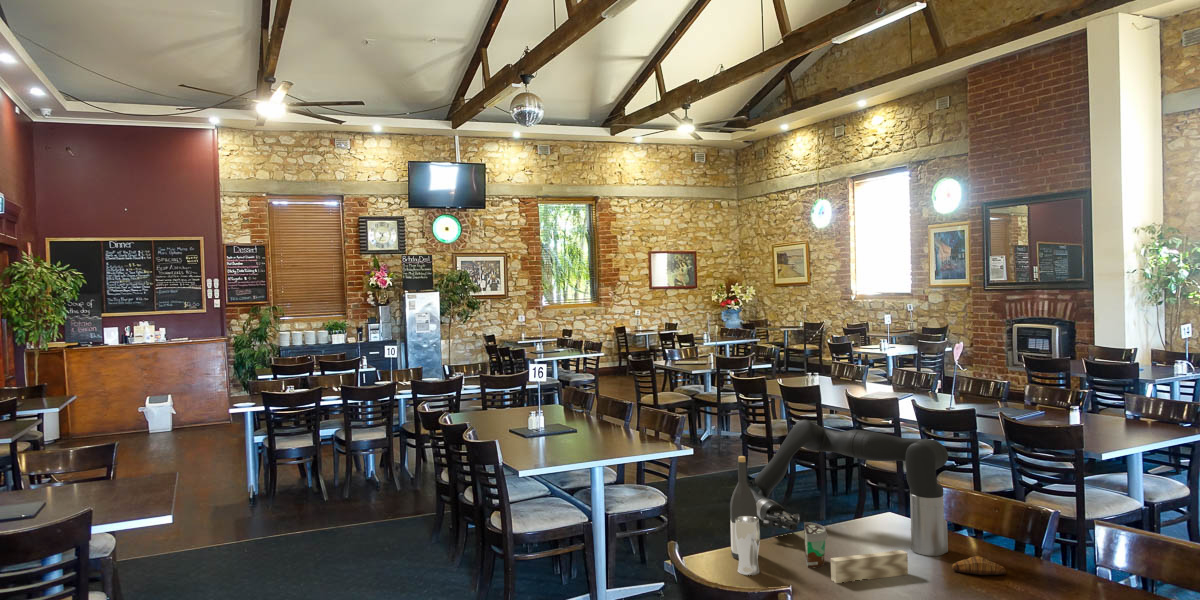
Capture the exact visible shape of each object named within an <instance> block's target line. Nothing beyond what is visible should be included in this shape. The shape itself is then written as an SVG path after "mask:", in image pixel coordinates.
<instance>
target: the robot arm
mask: <svg viewBox="0 0 1200 600" xmlns="http://www.w3.org/2000/svg"><path fill="white" fill-rule="evenodd" d="M801 448H804V449H806V450H808V451H812V452H822V453H823V452H824V453H825V452H826V453H836V454H839V455H840V454H841V455H843V456H847V457H851V458H855V459H859V460H864V461H865V460H866V461H871V462H872V461H873V462H896V461H897V462H900V461H901V462H905V471H906V472H905V475H906V481H907V485H908V487H909V498H910V501H909V502H910V503H909V505H910V506H909V507H910V508H909V509H910V543H911V547H910V548H911V550H912V552H914V553H916V554H918V555H923V556H932V557H935V556H937V557H939V556H942V555H944V554H946V553H948V552H949V548H948V545H949V542H948V541H949V540H948V521H947V520H946V519H945V510H944V507H945V506H944V487H943V485H942V484H941V483H939V482H938V480H937V470H939V469H940V468H942V467H944V466H945V465H946V463H947V462H948V459H949V453H948V450H947V448H946V447H945V445H943V444H942V443H941V442H940V441H938V440H935V439H929V438H907V437H900V436H895V435H890V434H886V433H881V432H880V433H879V432H875V431H868V430H862V429H849V430H845V431H837V430H834V429H833V430H832V429H828V428H825V427H822V426H821V425H819V424H818V423H817V424H816V423H814V422H812V421H811V420H809V419H801V420H799V421H797V422H796V423H795V424H794V425H793V426H792V427H791V429H790V430H789V432H788V434H787V435H786V436H785V439H784V440H783V442H782V443H781V445H780V446H779V448H778V449H777V451H776V452H775V453H774V455H773V457H772V458H771V459H770V460H769V462H768V463H767V464H766V465H765V466H764V468H762V470H761V471H760V472H759V473H758V474H757V475H756V476H755V478H754V483H755V485H756V486H757V487H758V488H759V491H756V490H754V489H753V488H752V487H750V486H749V488H750V489H751V491H752V493H753V496H754V498H755V502H756V506H757V518H758V519H759V520H761V521H762V522H763V526H765V527H766V526H767V527H772V528H778V529H782V528H784V529H787V530H790V531H791V532H792V531H795V532H796V531H797V530H798V524H799V523H800V514H799V513H795V514H793V515H792V514H791V513H789V512H787V510H786V509H785V508H784V506H782V505H781V504H779V503H778V502H776V501H774V500H772V499H770V498H769V496H770V494H771V493H772V491H773V490H774V489H775V487H777V485H779V483H780V482H781V481H782V480H783V479H784V477H785V476H786V473H787V471H788V468H789V466H790V462H791V460H792V458H793V456H794V455H795V454H796V453H797V452H798V451H799V450H800V449H801Z"/></svg>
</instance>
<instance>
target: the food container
mask: <svg viewBox="0 0 1200 600" xmlns="http://www.w3.org/2000/svg"><path fill="white" fill-rule="evenodd" d="M803 526H804V527H803V529H804V552H805V553H804V555H805V556H804V557H805V561H806V566H807V568H808V569H813V567H816V568H820V567H819V566H821V567H822V566H824V565H825V554H826V553H825V551H826V550H825V549H826V540H827V538H828V532H827V529H826V527H824V526H823V525H821V524H818V523H814V522H807V521H804V522H803ZM823 564H824V565H823Z"/></svg>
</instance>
